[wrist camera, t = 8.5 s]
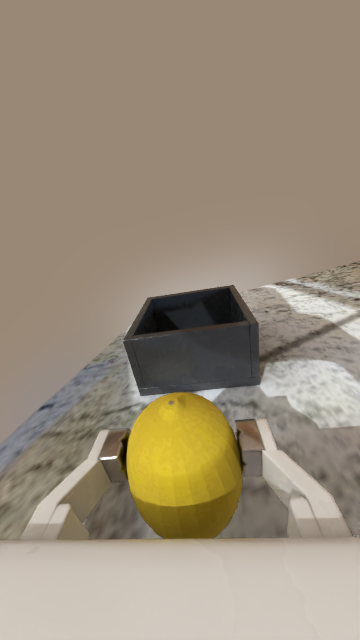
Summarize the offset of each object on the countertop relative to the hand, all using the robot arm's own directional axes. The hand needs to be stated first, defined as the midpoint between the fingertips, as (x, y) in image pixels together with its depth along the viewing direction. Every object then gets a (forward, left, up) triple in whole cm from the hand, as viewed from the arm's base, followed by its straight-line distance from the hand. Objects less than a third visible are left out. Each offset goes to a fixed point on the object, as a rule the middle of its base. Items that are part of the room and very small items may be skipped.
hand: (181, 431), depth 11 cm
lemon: (0, -1, -5) cm, 5 cm away
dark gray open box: (0, +16, -6) cm, 17 cm away
